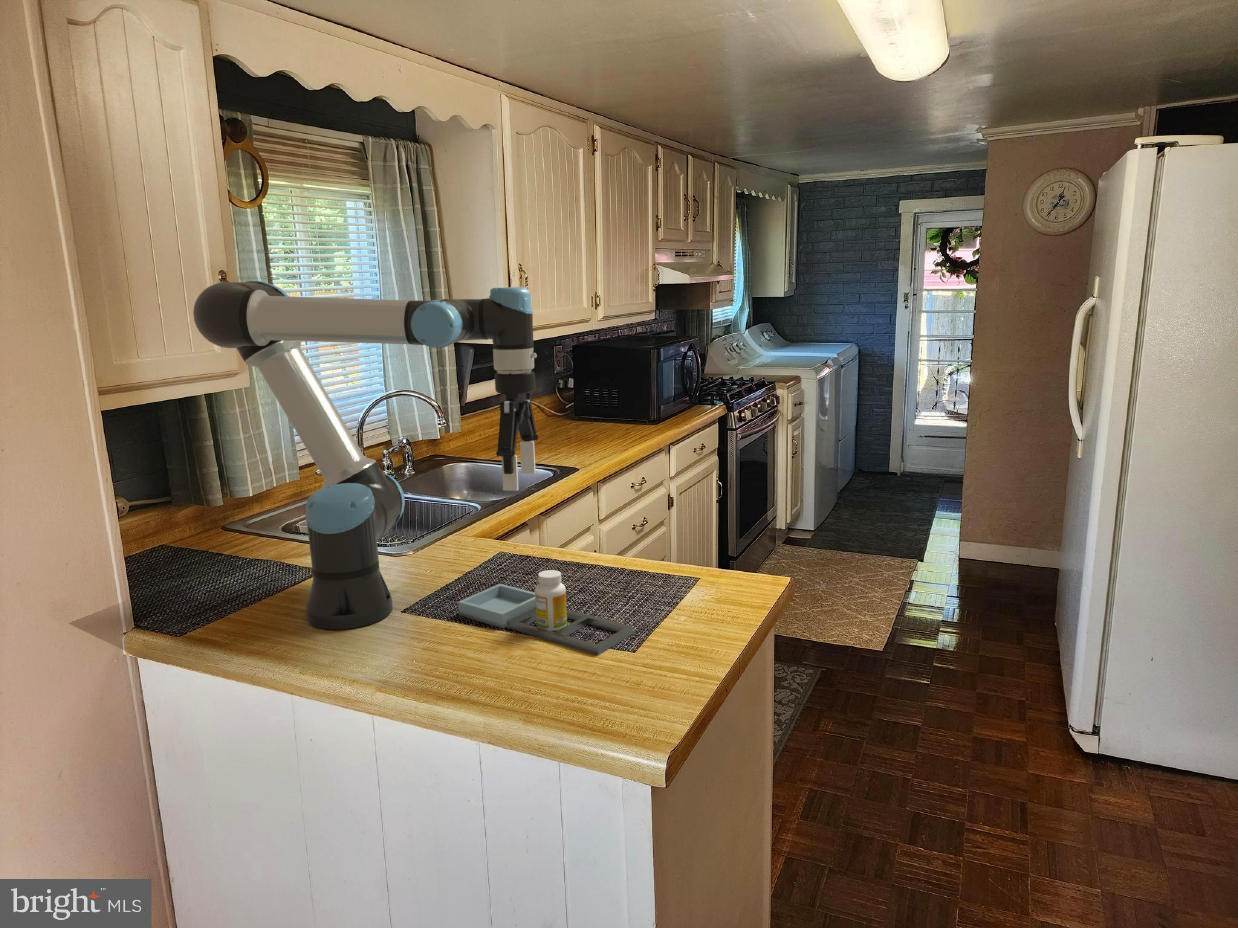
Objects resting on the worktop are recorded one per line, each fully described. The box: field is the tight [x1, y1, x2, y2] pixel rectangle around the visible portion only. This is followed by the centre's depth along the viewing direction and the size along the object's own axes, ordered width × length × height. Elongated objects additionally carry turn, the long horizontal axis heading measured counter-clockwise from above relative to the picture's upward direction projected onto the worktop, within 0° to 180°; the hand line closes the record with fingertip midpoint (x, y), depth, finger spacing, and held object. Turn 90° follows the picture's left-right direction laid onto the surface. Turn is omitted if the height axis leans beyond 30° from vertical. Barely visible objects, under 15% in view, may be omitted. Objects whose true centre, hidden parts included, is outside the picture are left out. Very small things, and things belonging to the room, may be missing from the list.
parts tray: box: [457, 583, 536, 629], centre depth 156 cm, size 11×11×3 cm
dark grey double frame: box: [506, 608, 634, 655], centre depth 147 cm, size 10×20×1 cm, turn 55°
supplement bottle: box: [534, 569, 568, 632], centre depth 148 cm, size 5×5×10 cm
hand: (520, 481), depth 163 cm, fingers open, 13 cm apart
